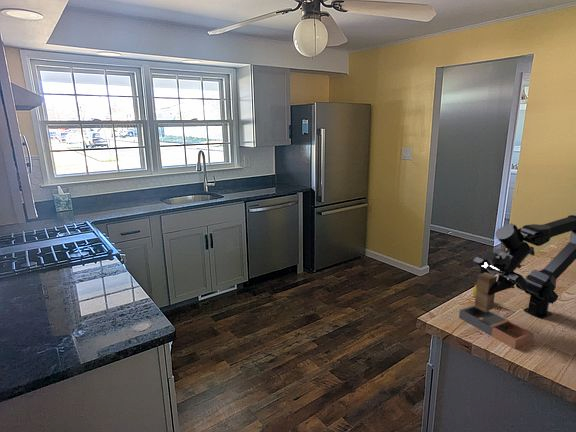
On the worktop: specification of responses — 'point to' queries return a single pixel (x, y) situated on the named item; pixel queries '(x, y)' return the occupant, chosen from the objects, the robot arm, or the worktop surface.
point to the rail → (497, 327)
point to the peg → (485, 291)
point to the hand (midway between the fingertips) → (482, 291)
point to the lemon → (474, 291)
